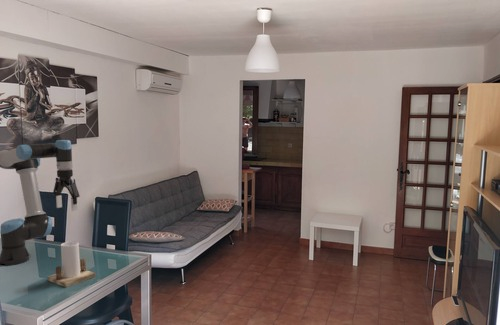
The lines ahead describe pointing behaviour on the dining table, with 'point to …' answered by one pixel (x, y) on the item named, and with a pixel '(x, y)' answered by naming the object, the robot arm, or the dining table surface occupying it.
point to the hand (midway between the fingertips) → (66, 209)
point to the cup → (70, 259)
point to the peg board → (71, 281)
